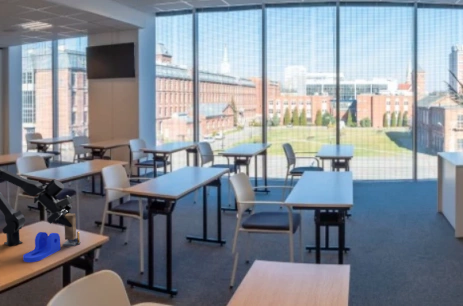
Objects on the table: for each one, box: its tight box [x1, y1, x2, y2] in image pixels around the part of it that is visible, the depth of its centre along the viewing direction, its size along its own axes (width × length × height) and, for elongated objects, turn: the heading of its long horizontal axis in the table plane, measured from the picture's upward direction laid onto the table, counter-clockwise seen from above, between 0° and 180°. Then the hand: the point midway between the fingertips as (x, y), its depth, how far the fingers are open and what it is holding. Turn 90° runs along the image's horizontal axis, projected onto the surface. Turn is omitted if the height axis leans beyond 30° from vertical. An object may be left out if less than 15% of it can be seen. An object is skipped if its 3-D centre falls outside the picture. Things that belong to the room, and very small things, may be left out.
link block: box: [64, 212, 77, 241], centre depth 220 cm, size 4×4×12 cm
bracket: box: [22, 231, 61, 263], centre depth 205 cm, size 18×8×9 cm, turn 167°
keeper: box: [62, 231, 82, 247], centre depth 221 cm, size 7×6×6 cm
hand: (73, 225), depth 220 cm, fingers closed on link block, 4 cm apart
